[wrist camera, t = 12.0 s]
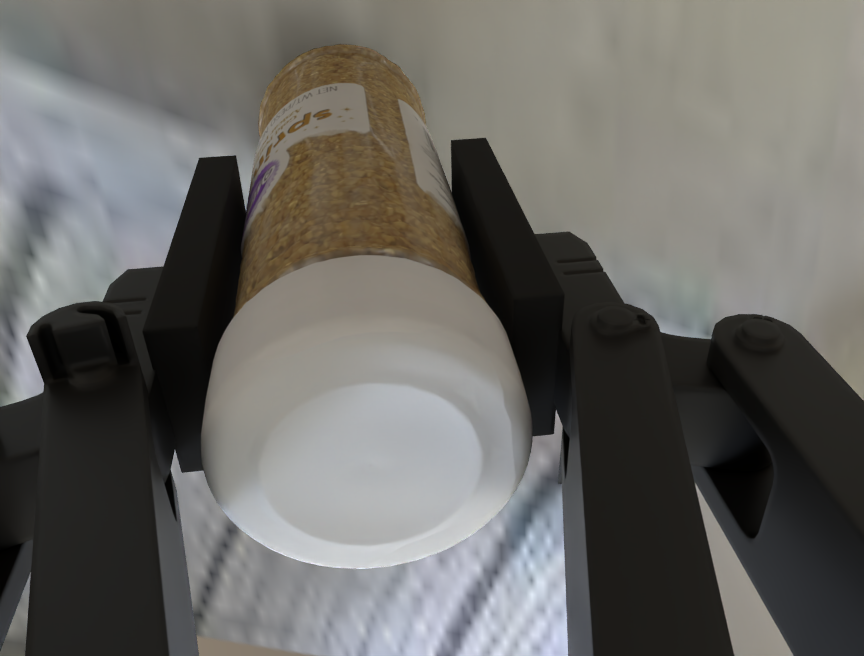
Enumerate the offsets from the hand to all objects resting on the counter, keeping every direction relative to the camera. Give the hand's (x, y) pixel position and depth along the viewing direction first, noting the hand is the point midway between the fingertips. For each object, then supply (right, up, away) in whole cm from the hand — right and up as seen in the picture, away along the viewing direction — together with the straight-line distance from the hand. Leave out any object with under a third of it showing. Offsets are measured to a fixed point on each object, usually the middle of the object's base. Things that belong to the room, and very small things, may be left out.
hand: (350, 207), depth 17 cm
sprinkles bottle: (-1, +3, +4) cm, 5 cm away
